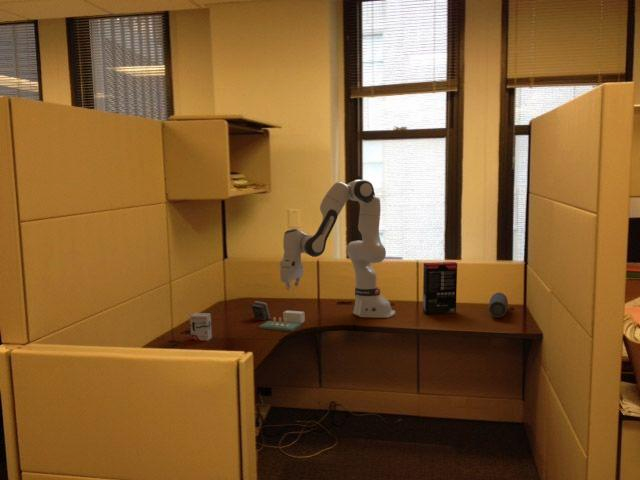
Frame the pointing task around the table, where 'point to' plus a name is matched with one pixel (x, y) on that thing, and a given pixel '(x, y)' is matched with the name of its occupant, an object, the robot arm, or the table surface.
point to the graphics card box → (439, 287)
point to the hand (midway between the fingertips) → (292, 287)
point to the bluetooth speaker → (498, 305)
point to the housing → (294, 316)
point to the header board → (280, 325)
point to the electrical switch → (260, 310)
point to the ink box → (200, 326)
